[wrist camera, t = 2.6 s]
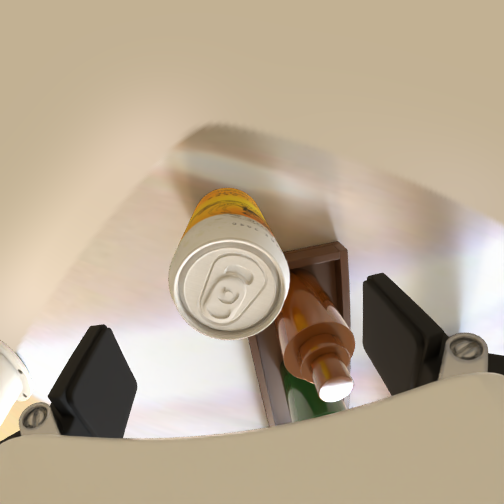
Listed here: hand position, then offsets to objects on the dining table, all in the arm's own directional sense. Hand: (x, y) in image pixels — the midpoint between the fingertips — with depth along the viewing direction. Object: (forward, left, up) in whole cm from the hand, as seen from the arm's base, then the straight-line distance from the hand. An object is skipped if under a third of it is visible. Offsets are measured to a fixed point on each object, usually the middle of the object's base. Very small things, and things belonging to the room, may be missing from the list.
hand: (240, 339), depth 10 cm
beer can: (0, 0, -19) cm, 19 cm away
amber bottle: (+5, -9, -18) cm, 21 cm away
